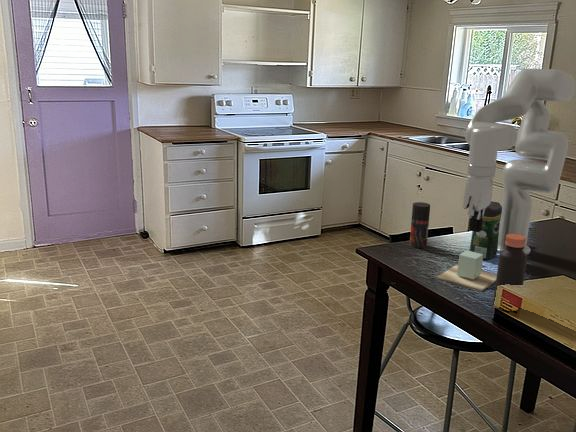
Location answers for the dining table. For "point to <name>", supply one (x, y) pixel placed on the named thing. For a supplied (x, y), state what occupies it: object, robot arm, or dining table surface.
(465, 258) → the pale green rectangular prism
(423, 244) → the deodorant
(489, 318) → the dining table surface
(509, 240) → the bottle
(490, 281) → the post stand
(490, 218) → the coffee jar
